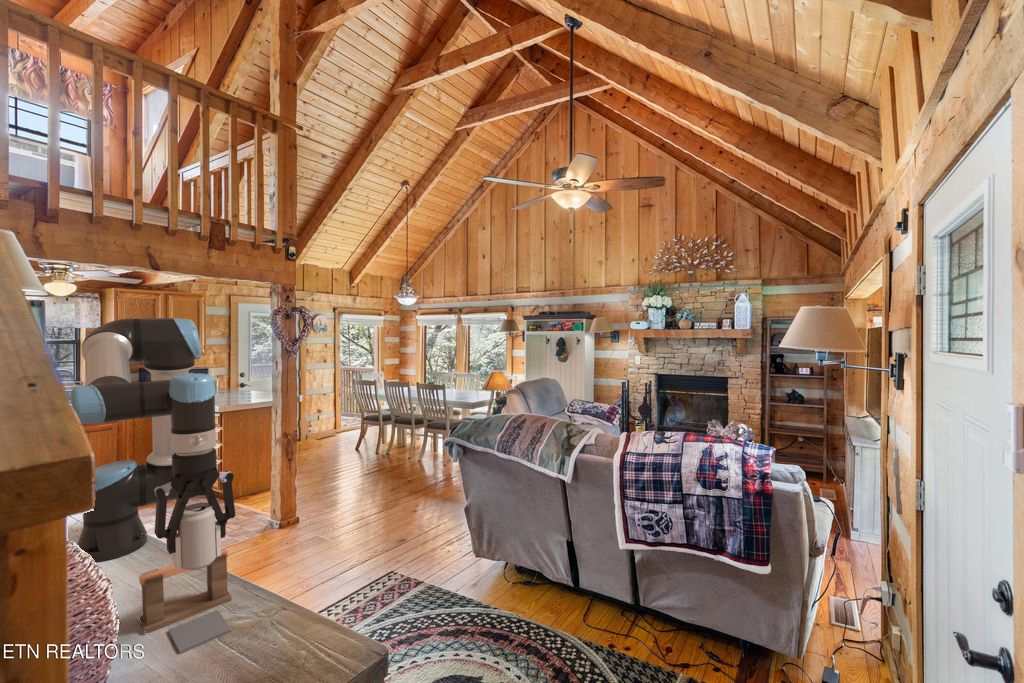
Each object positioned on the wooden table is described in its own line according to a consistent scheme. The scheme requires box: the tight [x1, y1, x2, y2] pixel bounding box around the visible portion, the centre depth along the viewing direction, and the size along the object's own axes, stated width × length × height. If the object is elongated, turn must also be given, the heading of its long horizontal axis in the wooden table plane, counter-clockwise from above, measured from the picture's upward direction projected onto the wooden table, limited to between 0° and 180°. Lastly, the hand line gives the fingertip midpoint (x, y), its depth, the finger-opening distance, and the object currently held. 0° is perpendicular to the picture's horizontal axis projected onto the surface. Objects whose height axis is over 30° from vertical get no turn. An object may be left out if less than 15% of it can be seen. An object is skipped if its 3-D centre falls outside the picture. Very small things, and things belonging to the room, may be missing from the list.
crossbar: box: [138, 547, 229, 587], centre depth 104 cm, size 2×16×2 cm, turn 137°
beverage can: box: [177, 502, 216, 572], centre depth 97 cm, size 6×6×12 cm
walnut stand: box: [138, 554, 233, 634], centre depth 105 cm, size 6×16×11 cm, turn 138°
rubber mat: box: [168, 609, 232, 654], centre depth 98 cm, size 9×9×1 cm
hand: (197, 559), depth 97 cm, fingers closed on beverage can, 6 cm apart
